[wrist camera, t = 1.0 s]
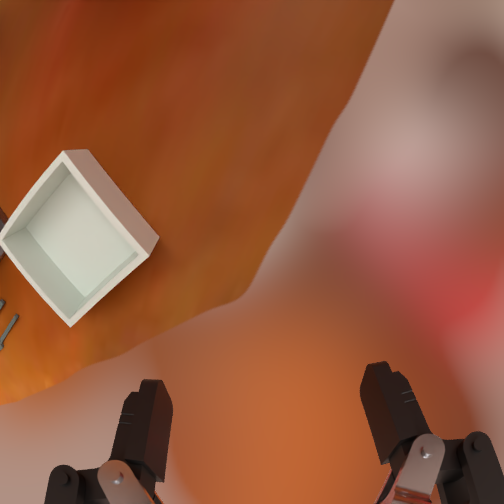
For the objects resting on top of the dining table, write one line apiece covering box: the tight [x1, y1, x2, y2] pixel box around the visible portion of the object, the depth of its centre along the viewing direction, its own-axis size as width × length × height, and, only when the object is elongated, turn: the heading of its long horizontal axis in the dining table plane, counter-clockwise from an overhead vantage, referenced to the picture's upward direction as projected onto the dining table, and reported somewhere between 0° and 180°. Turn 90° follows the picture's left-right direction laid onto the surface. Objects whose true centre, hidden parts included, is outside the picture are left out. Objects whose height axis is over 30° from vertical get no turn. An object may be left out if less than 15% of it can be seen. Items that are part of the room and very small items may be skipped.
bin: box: [0, 149, 160, 328], centre depth 32 cm, size 15×15×7 cm
